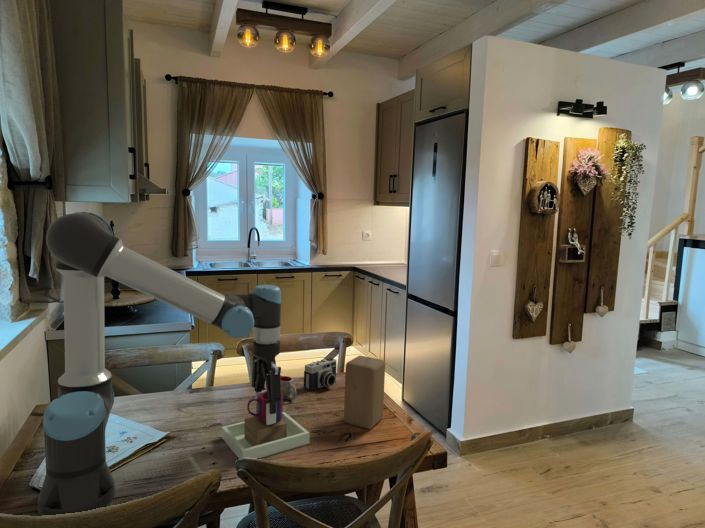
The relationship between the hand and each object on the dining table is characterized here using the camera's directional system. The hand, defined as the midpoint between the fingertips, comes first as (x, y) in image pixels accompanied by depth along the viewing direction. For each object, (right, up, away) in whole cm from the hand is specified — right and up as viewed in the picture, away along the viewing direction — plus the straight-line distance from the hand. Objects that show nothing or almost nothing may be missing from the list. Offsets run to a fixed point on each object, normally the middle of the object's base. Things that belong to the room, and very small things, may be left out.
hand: (265, 418), depth 134 cm
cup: (0, 0, +1) cm, 1 cm away
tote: (0, -7, +1) cm, 8 cm away
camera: (+14, -3, +45) cm, 47 cm away
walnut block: (0, -7, +1) cm, 7 cm away
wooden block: (+28, -7, +18) cm, 34 cm away
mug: (+2, -4, +33) cm, 33 cm away
